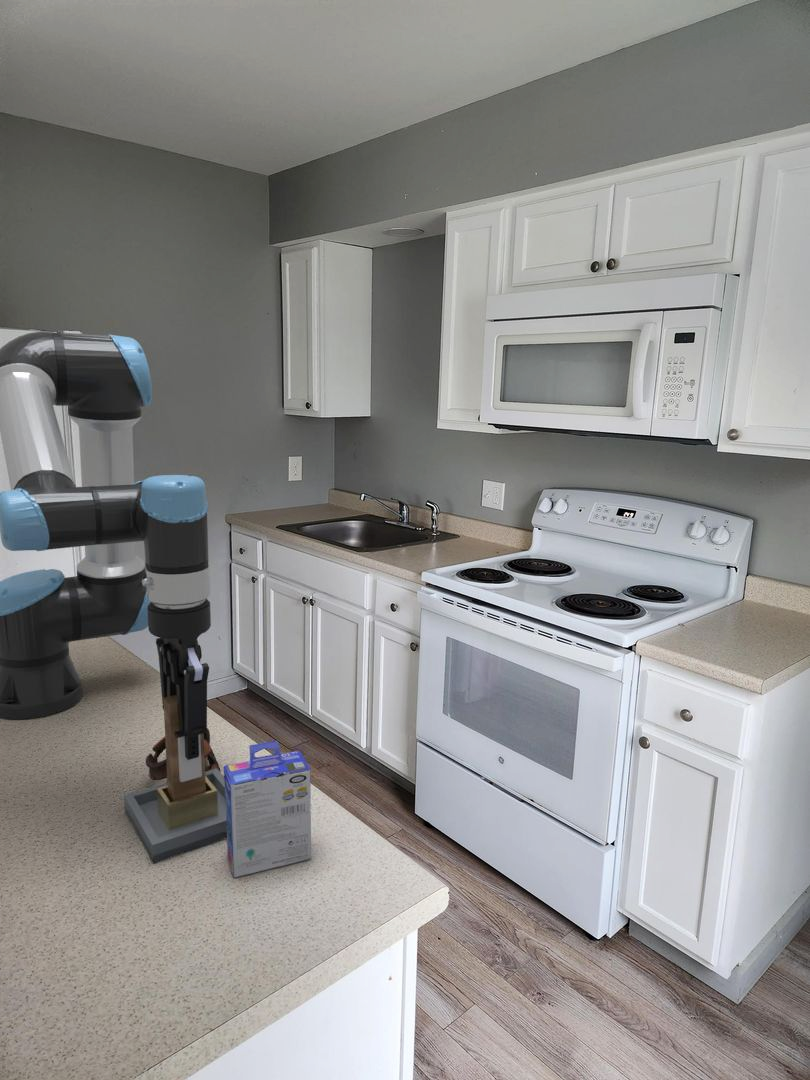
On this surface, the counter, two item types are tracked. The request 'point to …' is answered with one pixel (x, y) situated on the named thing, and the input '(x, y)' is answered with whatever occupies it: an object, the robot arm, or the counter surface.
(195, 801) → the tan hollow wooden box
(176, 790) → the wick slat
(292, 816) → the ink cartridge box
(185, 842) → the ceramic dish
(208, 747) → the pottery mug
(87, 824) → the counter surface
